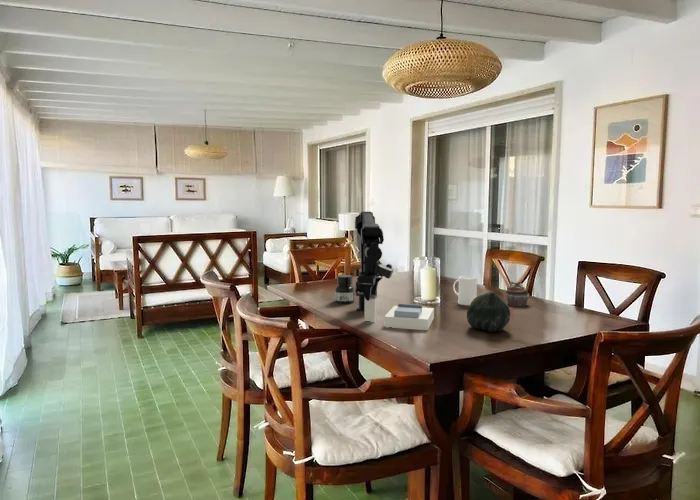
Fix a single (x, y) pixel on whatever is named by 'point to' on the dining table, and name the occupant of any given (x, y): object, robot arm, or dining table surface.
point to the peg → (371, 308)
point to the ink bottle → (344, 289)
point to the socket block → (410, 320)
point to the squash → (488, 312)
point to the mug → (466, 289)
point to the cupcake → (517, 294)
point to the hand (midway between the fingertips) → (370, 298)
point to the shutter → (408, 310)
